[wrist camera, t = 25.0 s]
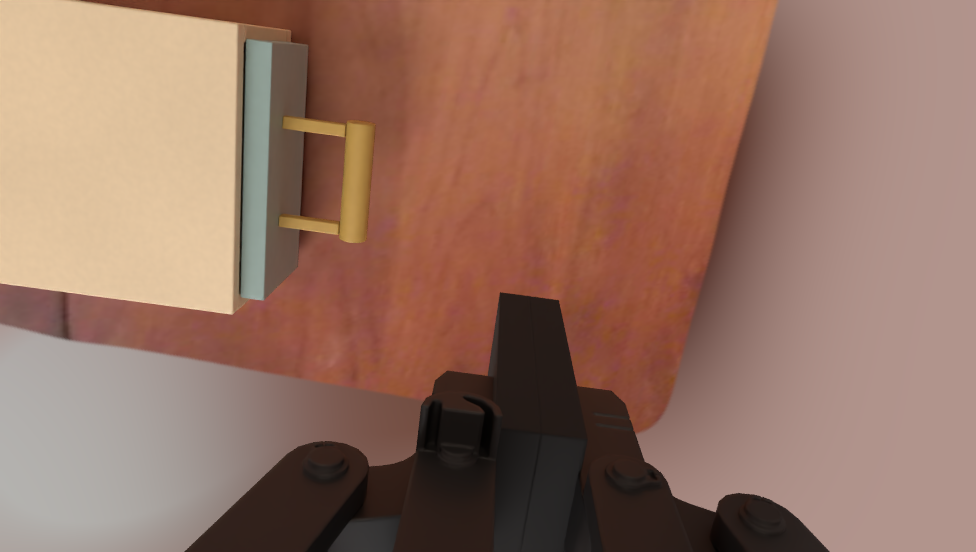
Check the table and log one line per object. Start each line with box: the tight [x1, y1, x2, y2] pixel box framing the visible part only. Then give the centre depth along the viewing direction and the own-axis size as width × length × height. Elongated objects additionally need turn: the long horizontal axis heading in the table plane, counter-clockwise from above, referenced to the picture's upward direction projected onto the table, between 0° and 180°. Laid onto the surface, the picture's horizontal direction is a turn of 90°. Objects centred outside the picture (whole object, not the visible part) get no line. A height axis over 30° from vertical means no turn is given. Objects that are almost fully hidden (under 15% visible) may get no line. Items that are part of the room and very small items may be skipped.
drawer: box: [239, 39, 376, 300], centre depth 35 cm, size 19×12×6 cm, turn 82°
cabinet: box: [0, 0, 291, 314], centre depth 35 cm, size 16×14×8 cm
